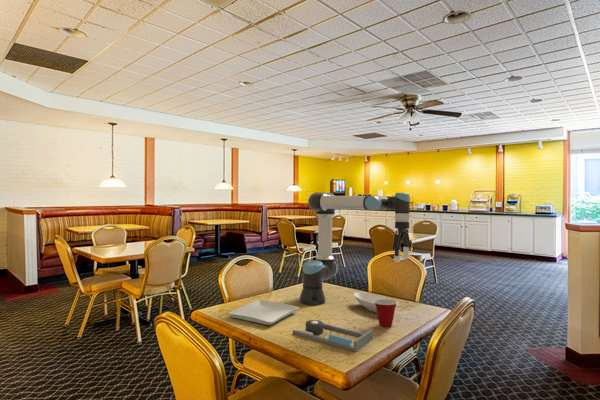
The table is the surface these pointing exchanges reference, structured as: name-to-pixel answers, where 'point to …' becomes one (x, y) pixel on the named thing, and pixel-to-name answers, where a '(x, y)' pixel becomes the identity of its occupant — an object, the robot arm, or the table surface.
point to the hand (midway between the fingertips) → (401, 260)
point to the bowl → (369, 300)
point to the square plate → (263, 311)
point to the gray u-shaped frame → (340, 338)
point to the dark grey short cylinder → (314, 327)
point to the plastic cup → (385, 311)
